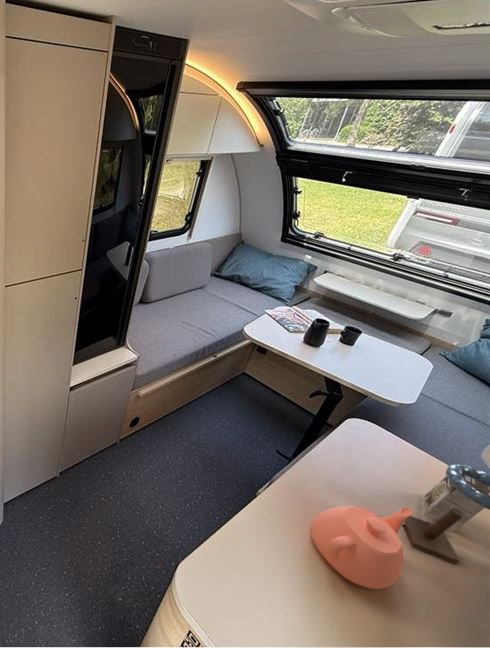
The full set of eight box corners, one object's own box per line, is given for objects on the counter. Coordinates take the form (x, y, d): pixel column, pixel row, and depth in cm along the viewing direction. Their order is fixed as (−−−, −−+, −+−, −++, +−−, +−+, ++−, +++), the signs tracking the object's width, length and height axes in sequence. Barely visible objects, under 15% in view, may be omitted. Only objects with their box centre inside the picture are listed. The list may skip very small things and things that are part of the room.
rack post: (438, 530, 96) (471, 504, 90) (455, 564, 89) (492, 538, 83) (397, 514, 99) (426, 488, 93) (411, 546, 92) (443, 519, 86)
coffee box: (421, 496, 105) (459, 462, 97) (451, 513, 101) (493, 479, 93) (419, 516, 99) (459, 482, 91) (451, 535, 95) (495, 500, 87)
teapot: (348, 507, 100) (376, 478, 93) (418, 573, 86) (456, 545, 80) (283, 531, 92) (308, 502, 85) (349, 608, 79) (384, 580, 72)
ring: (497, 482, 87) (504, 476, 86) (534, 528, 77) (543, 521, 76) (433, 461, 91) (439, 454, 90) (460, 501, 81) (468, 495, 80)
